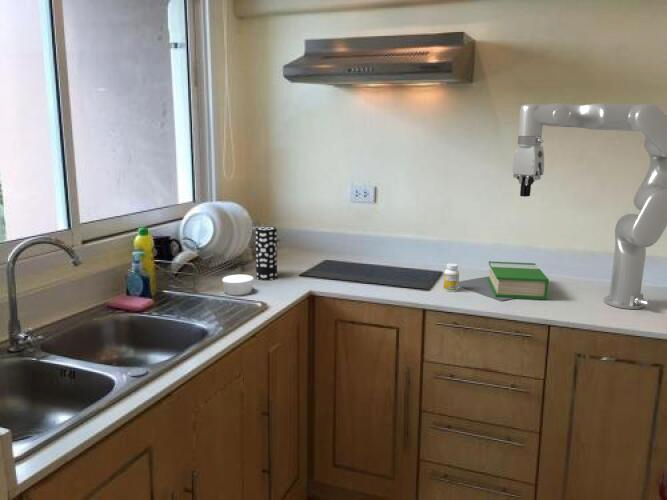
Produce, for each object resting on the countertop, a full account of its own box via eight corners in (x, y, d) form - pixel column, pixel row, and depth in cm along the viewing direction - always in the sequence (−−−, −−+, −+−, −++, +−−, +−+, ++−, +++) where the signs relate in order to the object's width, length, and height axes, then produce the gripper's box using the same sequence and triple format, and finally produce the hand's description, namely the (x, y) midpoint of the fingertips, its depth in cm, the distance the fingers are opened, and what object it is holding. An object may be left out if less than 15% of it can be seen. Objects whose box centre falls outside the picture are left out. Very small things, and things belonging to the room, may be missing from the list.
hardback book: (497, 277, 202) (488, 261, 226) (495, 297, 204) (487, 279, 227) (548, 279, 200) (534, 263, 223) (546, 299, 202) (533, 281, 225)
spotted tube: (280, 278, 226) (280, 229, 222) (262, 281, 221) (261, 231, 217) (271, 273, 233) (270, 225, 228) (252, 276, 228) (251, 227, 224)
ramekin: (216, 294, 205) (216, 280, 204) (233, 286, 215) (232, 272, 214) (243, 298, 201) (243, 283, 200) (259, 289, 211) (259, 276, 210)
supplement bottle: (448, 286, 217) (450, 262, 215) (460, 289, 213) (462, 264, 211) (440, 289, 213) (442, 264, 211) (452, 292, 210) (454, 267, 208)
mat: (547, 292, 212) (547, 291, 212) (501, 301, 200) (501, 300, 200) (495, 275, 234) (495, 275, 234) (451, 283, 222) (451, 282, 222)
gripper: (555, 142, 186) (550, 198, 190) (519, 140, 199) (515, 193, 203) (540, 142, 183) (535, 199, 187) (504, 141, 195) (500, 194, 199)
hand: (525, 196), depth 195 cm, fingers closed
